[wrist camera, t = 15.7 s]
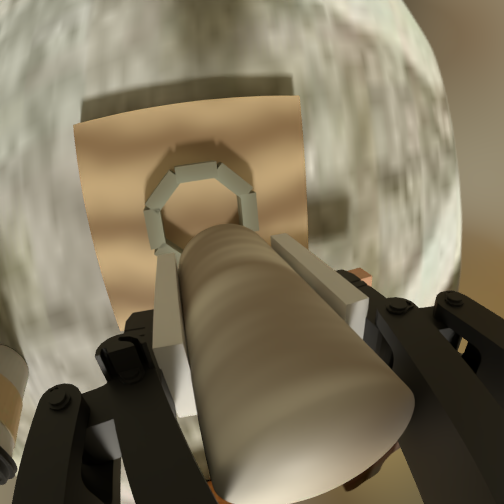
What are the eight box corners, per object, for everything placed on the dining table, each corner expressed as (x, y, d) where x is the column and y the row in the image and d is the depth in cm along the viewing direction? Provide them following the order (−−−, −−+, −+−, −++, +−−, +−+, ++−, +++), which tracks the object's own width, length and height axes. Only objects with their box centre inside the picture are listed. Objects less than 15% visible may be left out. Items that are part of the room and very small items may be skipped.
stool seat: (80, 126, 20) (66, 123, 17) (290, 98, 24) (307, 93, 21) (122, 319, 27) (118, 341, 23) (300, 284, 30) (316, 301, 27)
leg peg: (187, 319, 14) (231, 519, 5) (169, 232, 13) (185, 432, 3) (274, 301, 15) (388, 463, 6) (268, 216, 14) (437, 346, 4)
